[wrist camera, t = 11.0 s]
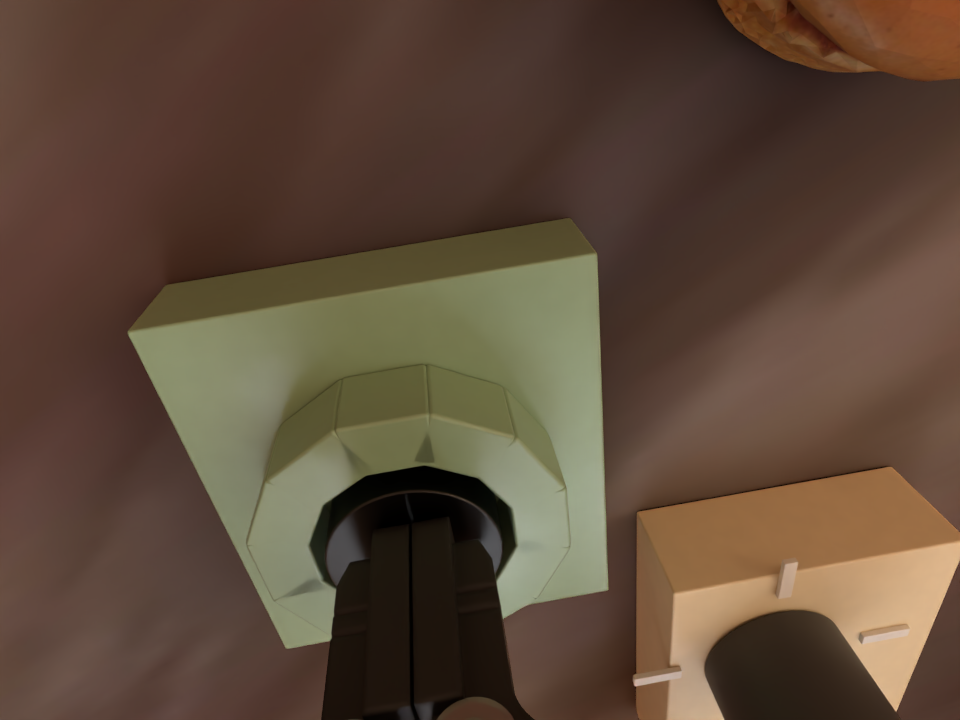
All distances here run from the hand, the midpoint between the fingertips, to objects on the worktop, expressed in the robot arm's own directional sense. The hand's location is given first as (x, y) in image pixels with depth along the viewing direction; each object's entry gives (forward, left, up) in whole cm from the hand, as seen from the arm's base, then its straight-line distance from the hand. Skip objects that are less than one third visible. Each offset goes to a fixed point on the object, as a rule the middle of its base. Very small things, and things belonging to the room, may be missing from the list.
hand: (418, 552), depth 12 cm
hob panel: (-10, -10, -4) cm, 15 cm away
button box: (0, 0, -4) cm, 4 cm away
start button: (0, 0, -2) cm, 2 cm away
